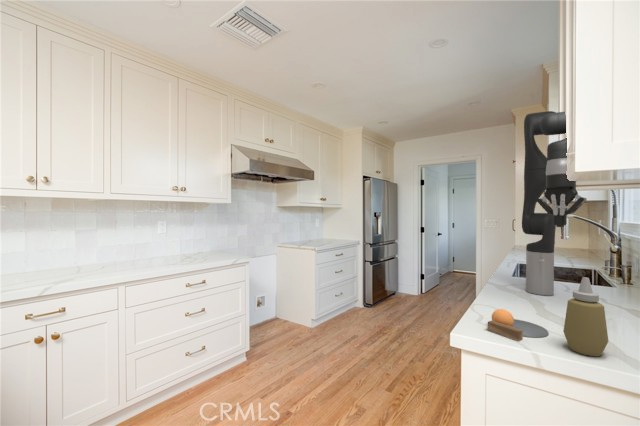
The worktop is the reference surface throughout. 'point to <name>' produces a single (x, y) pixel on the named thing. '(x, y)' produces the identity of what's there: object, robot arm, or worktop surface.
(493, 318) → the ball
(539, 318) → the worktop surface
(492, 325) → the strip
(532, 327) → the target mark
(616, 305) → the worktop surface
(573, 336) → the squeeze bottle
